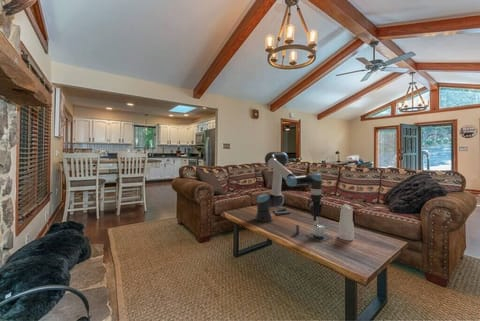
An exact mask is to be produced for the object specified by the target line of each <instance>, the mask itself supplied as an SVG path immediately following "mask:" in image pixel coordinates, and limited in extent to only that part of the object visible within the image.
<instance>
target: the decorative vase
mask: <svg viewBox="0 0 480 321" xmlns="http://www.w3.org/2000/svg"><path fill="white" fill-rule="evenodd" d="M339 212H340V214H339V215H340V216H339V221H338V231H337V233H338V234H337V235H338V238H339V239H341V240H344V241H354V240H355V232H354V230H355V228H354V226H355V225H354V224H355V223H354V221H353V220H354V219H353V218H354V217H353V206H352V205H349V204H348V203H344V204H343V205H342V207H341V208H340V211H339Z"/></svg>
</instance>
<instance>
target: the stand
mask: <svg viewBox="0 0 480 321" xmlns="http://www.w3.org/2000/svg"><path fill="white" fill-rule="evenodd" d="M293 235H294V236H296V237H297V236H298V237H299V236H302V233H301V232H300V225H299V224H295V232H294V233H293Z"/></svg>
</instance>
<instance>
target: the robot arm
mask: <svg viewBox="0 0 480 321" xmlns="http://www.w3.org/2000/svg"><path fill="white" fill-rule="evenodd" d="M264 162H265V164H266V166H268V167H269V168H271V169H273V173H272V186H271V191H270V192H269V194H268V193H265V194H264V193H262V194H259V195H257V198H256V204H257V206H256V207H257V208H256V209H257V210H256V211H257V212H256V213H255V214H256V216H255V221H256V222H259V223H269V222H272V219H273V218H272V216H271V215H272V214H271V212H270V210H271V209H272V208H279V207H282V206H283V205H284V203H285V198H284V195H283V193H282V192H281V191H282V184H283V181H282V180H283V179H284V180H285V183H286V185H287V186H288V187H296V186H304V185H305V186H306V185H308V186H310V193H311V194H310V199H311V203H309V204H308V206H309V209H310V210H309V211H310V213H311V214H310V216H312V217H313V225H318V224H319V217H320V216H321V215H322V209H323V204H324V202H322V201H321V200H322V185H323V184H322V180H323V178H322V174H321V173H318V172H317V173H311V174H300V175H295V174H294V173H293V172H292V171H290V170H289V169H288V168H287V167H286V164H288V163H289V156H288V154H287V153H286V152H284V151H270V152H268V153H266V154H265V156H264Z"/></svg>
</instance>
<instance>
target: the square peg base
mask: <svg viewBox="0 0 480 321" xmlns="http://www.w3.org/2000/svg"><path fill="white" fill-rule="evenodd" d="M317 227H321V226H317ZM304 236H306V237H308V238H310V239H312V240H315V241H316V242H319V244H323V243H326V242H330V241H333V239H334V237H333V236H331V235H328V234H326V233H325V235H324V236H316V235H314V234H313V232H310V233H308V234H307V233H306V234H305V235H304ZM329 240H330V241H329Z"/></svg>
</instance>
